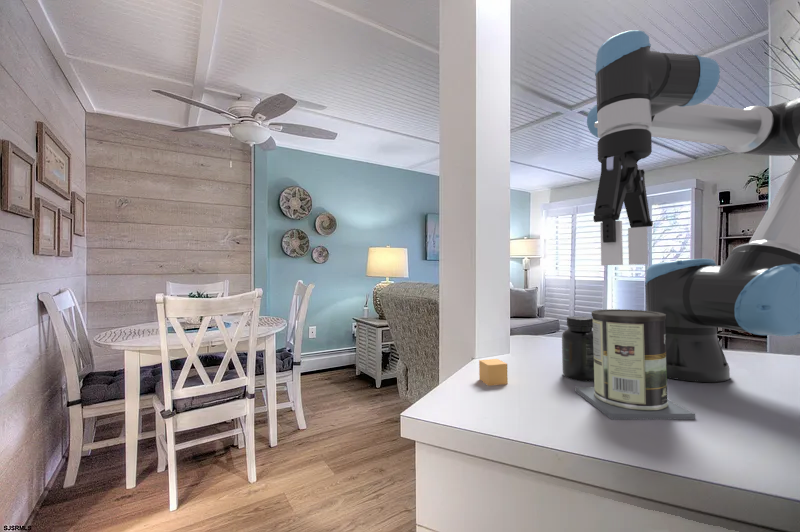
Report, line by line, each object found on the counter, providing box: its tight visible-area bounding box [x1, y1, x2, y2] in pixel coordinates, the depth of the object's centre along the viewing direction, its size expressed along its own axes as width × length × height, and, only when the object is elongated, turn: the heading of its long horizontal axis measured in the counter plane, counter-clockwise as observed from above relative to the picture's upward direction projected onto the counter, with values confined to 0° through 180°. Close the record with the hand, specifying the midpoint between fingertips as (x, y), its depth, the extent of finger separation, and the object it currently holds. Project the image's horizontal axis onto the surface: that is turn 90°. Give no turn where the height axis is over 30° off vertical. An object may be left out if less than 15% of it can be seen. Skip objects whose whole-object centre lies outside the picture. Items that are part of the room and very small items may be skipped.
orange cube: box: [478, 358, 509, 387], centre depth 72 cm, size 4×4×4 cm
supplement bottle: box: [561, 315, 594, 382], centre depth 74 cm, size 7×7×12 cm
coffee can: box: [591, 308, 668, 411], centre depth 59 cm, size 10×10×14 cm
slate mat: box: [574, 386, 696, 420], centre depth 59 cm, size 12×12×1 cm
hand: (626, 265), depth 59 cm, fingers open, 13 cm apart
